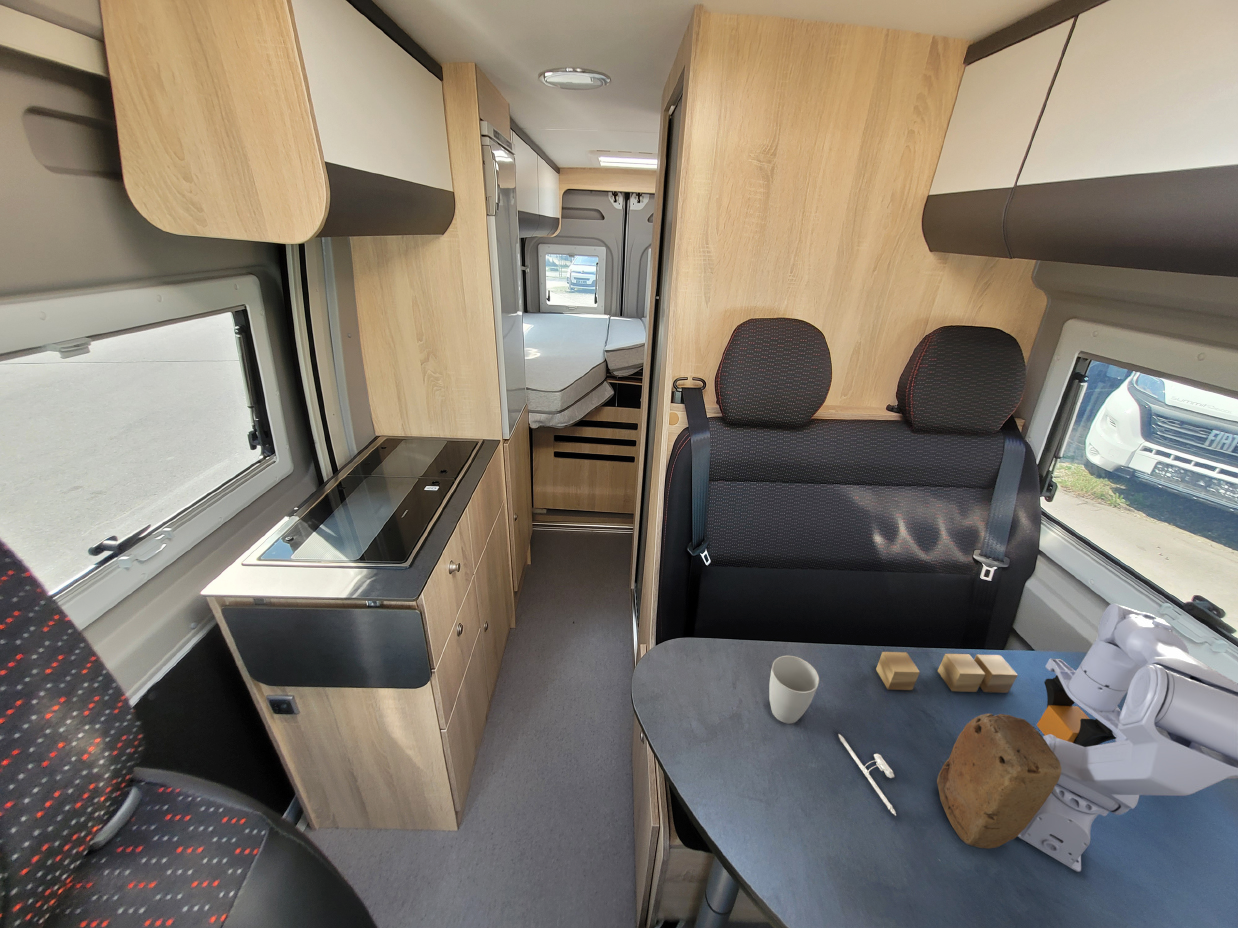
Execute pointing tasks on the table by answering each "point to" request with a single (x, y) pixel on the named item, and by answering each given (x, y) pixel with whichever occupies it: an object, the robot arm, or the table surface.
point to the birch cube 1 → (897, 671)
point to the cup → (791, 687)
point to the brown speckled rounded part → (996, 779)
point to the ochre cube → (1062, 722)
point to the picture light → (880, 764)
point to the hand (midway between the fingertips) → (1065, 733)
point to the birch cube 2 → (961, 672)
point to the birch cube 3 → (995, 673)
